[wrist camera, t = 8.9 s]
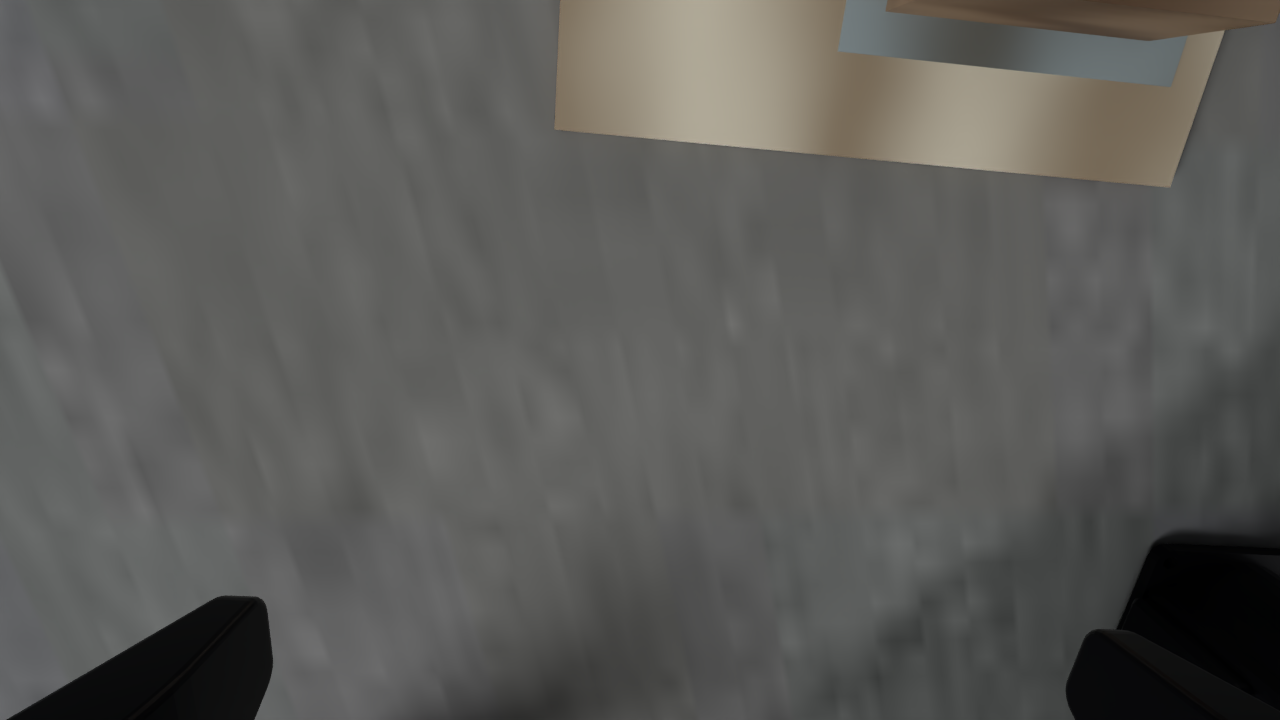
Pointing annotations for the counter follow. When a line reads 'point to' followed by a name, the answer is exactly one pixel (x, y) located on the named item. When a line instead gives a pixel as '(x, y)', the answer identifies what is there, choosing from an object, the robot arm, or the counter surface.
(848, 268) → the counter surface
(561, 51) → the plate
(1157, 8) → the walnut block
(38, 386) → the counter surface
